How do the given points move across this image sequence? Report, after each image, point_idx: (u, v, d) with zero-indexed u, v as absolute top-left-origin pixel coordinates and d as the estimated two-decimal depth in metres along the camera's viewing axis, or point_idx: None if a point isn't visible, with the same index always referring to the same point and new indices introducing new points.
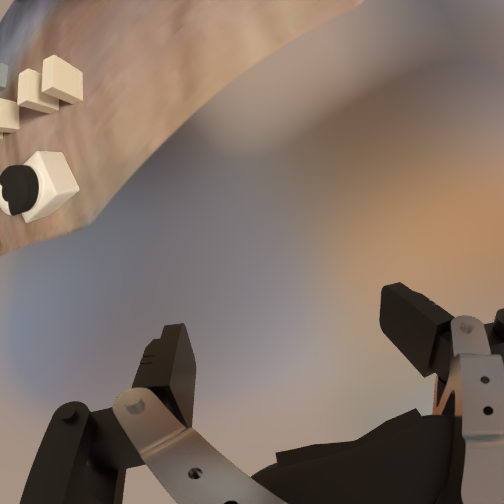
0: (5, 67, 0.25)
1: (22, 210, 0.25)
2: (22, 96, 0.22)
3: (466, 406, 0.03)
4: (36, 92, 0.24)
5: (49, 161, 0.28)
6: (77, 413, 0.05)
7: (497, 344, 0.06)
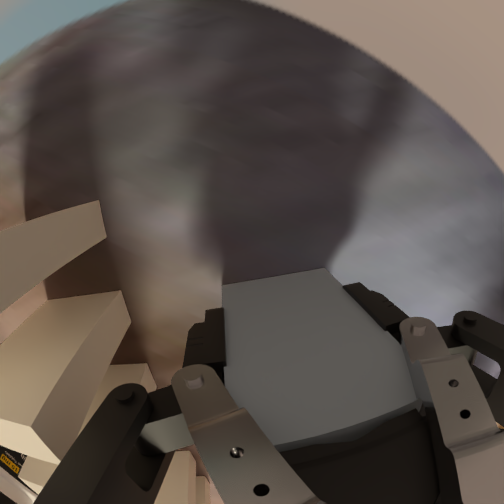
0: None
1: None
2: None
3: (440, 414, 0.04)
4: None
5: None
6: (134, 396, 0.06)
7: (452, 348, 0.06)
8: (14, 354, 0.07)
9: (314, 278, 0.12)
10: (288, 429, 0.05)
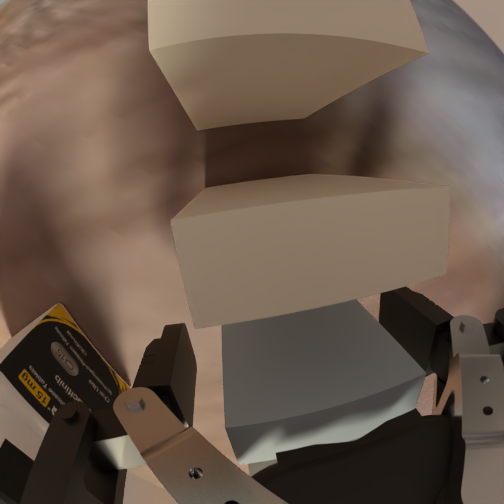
0: None
1: None
2: None
3: (466, 406, 0.03)
4: None
5: None
6: (77, 413, 0.05)
7: (496, 344, 0.06)
8: None
9: None
10: (281, 407, 0.06)
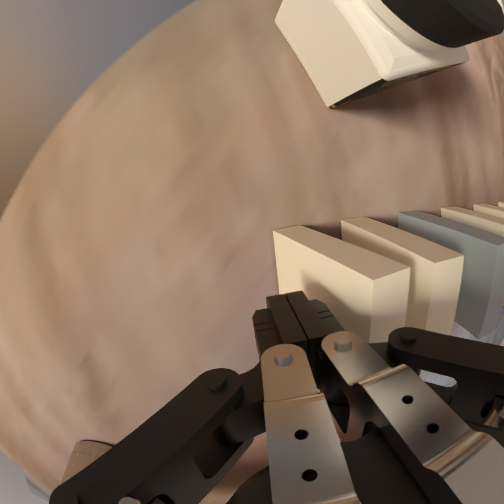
0: None
1: None
2: (446, 281, 0.09)
3: (405, 436, 0.03)
4: None
5: (346, 53, 0.10)
6: (226, 383, 0.06)
7: None
8: None
9: None
10: None
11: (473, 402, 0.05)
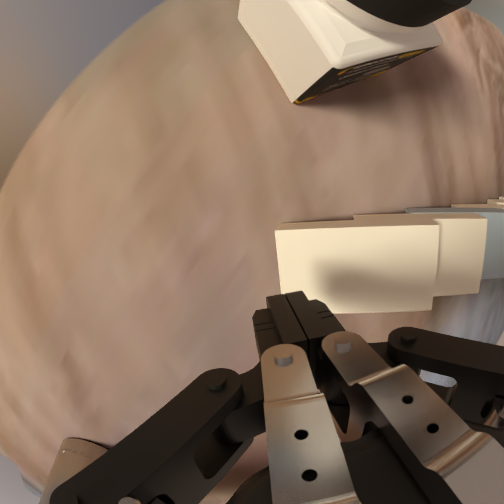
0: None
1: None
2: None
3: (405, 436, 0.03)
4: (455, 245, 0.14)
5: (298, 44, 0.09)
6: (226, 383, 0.06)
7: None
8: None
9: None
10: None
11: (473, 402, 0.05)
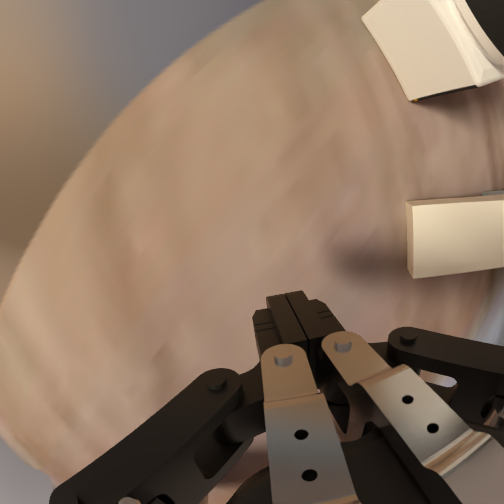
0: None
1: None
2: None
3: (405, 436, 0.03)
4: None
5: (443, 59, 0.10)
6: (226, 383, 0.06)
7: None
8: None
9: None
10: None
11: (473, 402, 0.05)
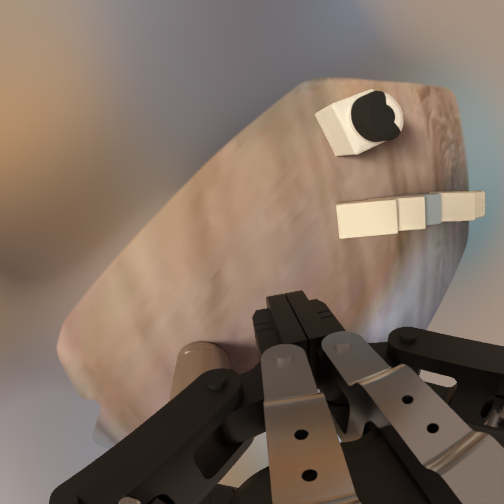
0: None
1: (369, 92, 0.26)
2: None
3: (405, 436, 0.03)
4: (411, 208, 0.37)
5: (344, 142, 0.33)
6: (226, 383, 0.06)
7: None
8: None
9: None
10: None
11: (473, 402, 0.05)
